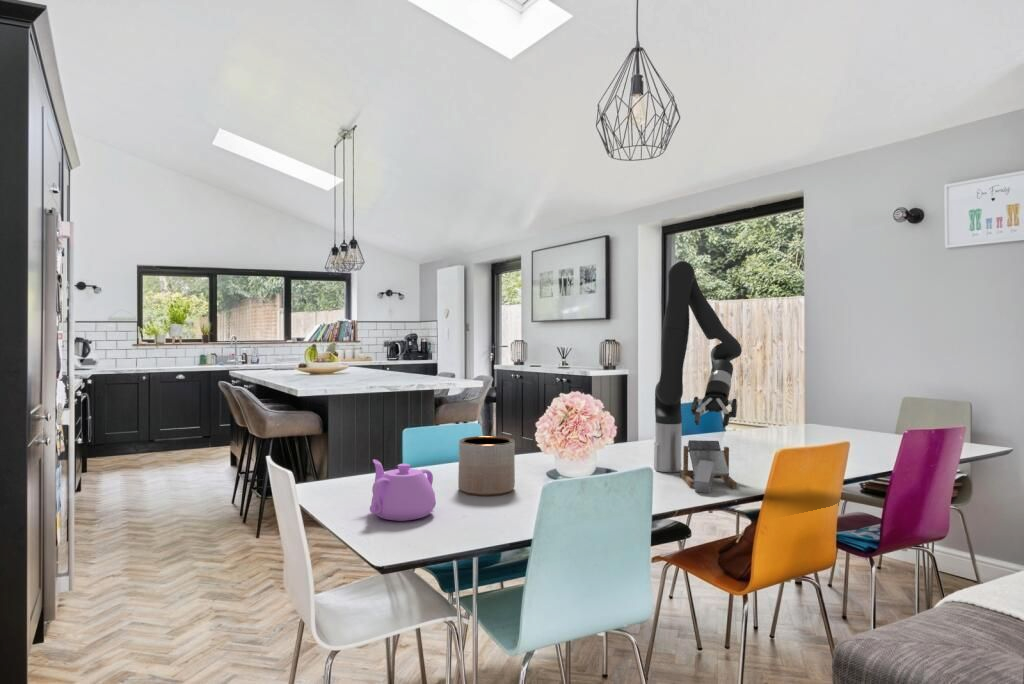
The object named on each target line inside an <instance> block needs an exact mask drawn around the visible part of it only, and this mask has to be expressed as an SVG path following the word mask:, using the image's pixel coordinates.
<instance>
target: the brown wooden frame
mask: <svg viewBox="0 0 1024 684" xmlns="http://www.w3.org/2000/svg"><path fill="white" fill-rule="evenodd" d="M690 451H719V450H689V448H688V445H683V459H682V461H683V462H682V463H683V464H682V465H683V468H682V469H681V470H680V472H679V474H680V478H681V479H682V480H683V481H684V482H685V483H686V485H687V486H688V488H690V489H695V486H694V480H693V479H692V478H695V475H694V472H693V469H692V470H691V469H690V470H689V452H690ZM722 451H723V452H724V456H725V460H726V464H727V467H728V471H729V472H730V447H729V446H723V450H722ZM714 478H720V479H721V480H723V482H725V483H726V484H727V485H728V487H730V488H731V489H733V490H737V484H738V483H737V482H736V481H735V480H734V479H733V478H732V477H731V476H730V475H729V476H716V475H714Z"/></svg>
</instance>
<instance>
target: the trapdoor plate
mask: <svg viewBox="0 0 1024 684" xmlns="http://www.w3.org/2000/svg"><path fill="white" fill-rule="evenodd" d="M687 446H688V450H719V451H690V452H688V454H689V456H690V462H691V467H692V470H693V472H694V475H696V471H697V468H698V464H699V461H700V460H703V461H713V462H714V467H715V474H714V475H716V476H729V477H730V470H729V471H728V467H727V464H726V460H725V456H724V452H723V451H724V450H721V449H722V448H721V445H720V442H719V440H693V439H691V440H688V443H687Z"/></svg>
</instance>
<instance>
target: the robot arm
mask: <svg viewBox="0 0 1024 684" xmlns="http://www.w3.org/2000/svg"><path fill="white" fill-rule="evenodd" d="M695 272H696V271H695V269H694V267H693V265H692V264H691V263H689V262H688V261H684V260H678V261H676V262H674V263H673V264H671V266H670V267H669V269H668V272H667V279H668V281H667V282H668V285H667V286H668V287H667V288H668V293H667V294H668V295H667V304H666V308H665V311H664V317H663V324H662V330H661V331H662V332H661V360H662V361H661V362H662V365H661V372H660V376H659V377H660V378H659V381H658V382H657V384H656V386H655V388H654V389H655V391H654V414H655V429H654V431H655V433H654V434H655V436H654V437H655V439H654V440H655V442H653V446H654V447H653V450H654V452H653V468H654V470H655V471H656V472H661V473H678V472H679V473H680V470H682V437H683V436H682V434H683V433H682V429H683V428H682V425H683V422H682V420H683V419H682V418H683V417H682V416H683V415H682V397H683V394H684V386H683V383H684V381H683V376H684V364H685V360H686V353H687V349H688V341H689V334H690V310H691V312H692V314H693V316H694V318H695V320H696V322H697V324H698V326H699V327H700V329H701V331H702V332H703V334H704V336H705V338H706V339H707V340H710V341H711V340H715V339H716V340H718V341H720V343H719V344H717V345H715V346H714V347H712V349H711V350H710V360H711V370H710V375H709V377H708V380H707V384H706V389H705V393H704V397H702V398H699V397H698V396H694V397H693V400H692V405H691V407H690V411H691V412H690V413H691V415H693V416H694V423H695V424H696V426H699V425H700V422H701V416H702V415H704V414H707V412H709V413H710V412H711V413H712V412H715V413H719V412H721V414H722V415H723V419H722V427H723V428H726V427H727V426H728V425H729V422H730V419H731V418H736V417H737V412H738V401H737V399H736V398H733V399H732V400H731V399H729V397H730V393H731V389H732V376H733V372H734V366H733V363H732V362H731V361H733V360H735V359H737V358H739V357H740V356H741V355H742V346H741V344H740V342H739V341H738V340H737V339H736V338H735V337H734V336H733V334H732V333H730V331H729V330H728V329H726V327H724V325H723V323H722V322H721V320H720V317H719V316H718V314H717V313H716V312H715V310H714V309H713V307H712V306H711V304H710V302H709V301H708V299H707V298H706V297H705V295H704V293H703V291H702V290H701V287H700V286H699V283H698V281H697V277H696V273H695ZM728 406H730V407H731V410H730V411H729V409H727V407H728Z"/></svg>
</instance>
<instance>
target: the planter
mask: <svg viewBox="0 0 1024 684" xmlns="http://www.w3.org/2000/svg"><path fill="white" fill-rule="evenodd" d="M515 443H516V442H515V439H513V438H509V437H506V436H497V435H495V436H494V435H493V436H492V435H478V436H477V435H475V436H467V437H463V438H461V439H459V441H458V475H457V477H458V479H457V480H458V483H457V485H458V489H459V490H460V491H461V492H463V493H465V494H468V495H473V496H480V497H481V496H485V497H487V496H489V497H491V496H500V495H501V496H502V495H505V494H508V493H510V492H512V491H513V490H514V489H515V483H516V478H515V477H516V474H515V473H516V470H515V469H516V468H515V466H516V465H515V462H516V460H515V454H516V453H515V452H516V451H515V450H516V449H515V446H516V445H515Z"/></svg>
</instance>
